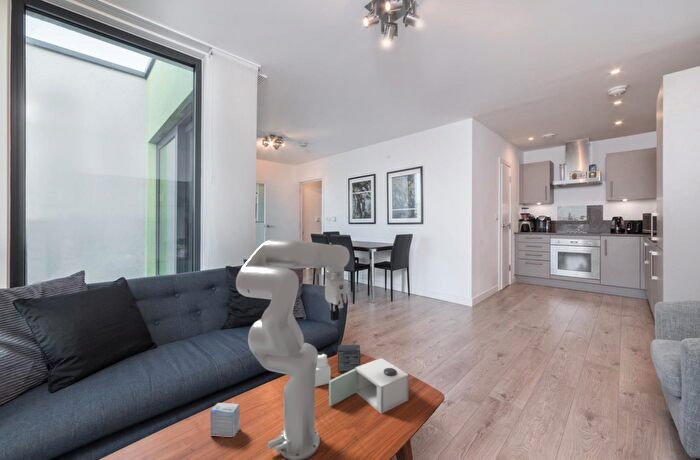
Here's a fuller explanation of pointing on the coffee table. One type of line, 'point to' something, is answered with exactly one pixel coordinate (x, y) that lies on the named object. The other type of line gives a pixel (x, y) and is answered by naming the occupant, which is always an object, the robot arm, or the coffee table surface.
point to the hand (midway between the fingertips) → (334, 319)
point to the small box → (348, 357)
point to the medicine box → (225, 419)
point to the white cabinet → (382, 384)
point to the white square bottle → (322, 370)
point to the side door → (342, 387)
